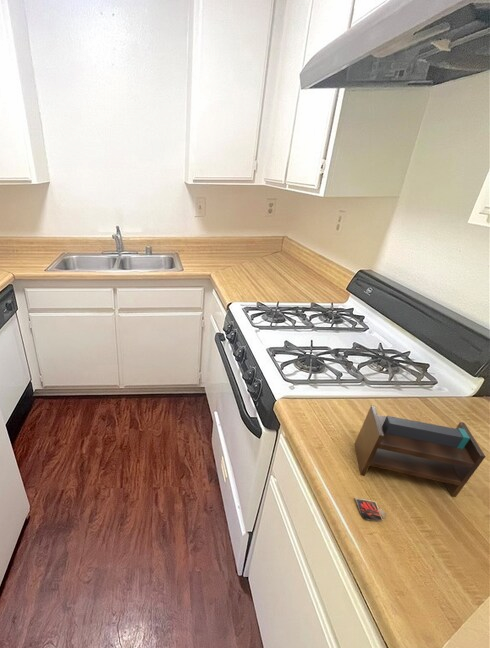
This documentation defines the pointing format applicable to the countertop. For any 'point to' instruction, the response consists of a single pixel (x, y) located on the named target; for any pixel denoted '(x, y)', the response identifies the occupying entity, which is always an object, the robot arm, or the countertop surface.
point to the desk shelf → (416, 454)
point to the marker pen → (426, 432)
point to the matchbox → (370, 509)
